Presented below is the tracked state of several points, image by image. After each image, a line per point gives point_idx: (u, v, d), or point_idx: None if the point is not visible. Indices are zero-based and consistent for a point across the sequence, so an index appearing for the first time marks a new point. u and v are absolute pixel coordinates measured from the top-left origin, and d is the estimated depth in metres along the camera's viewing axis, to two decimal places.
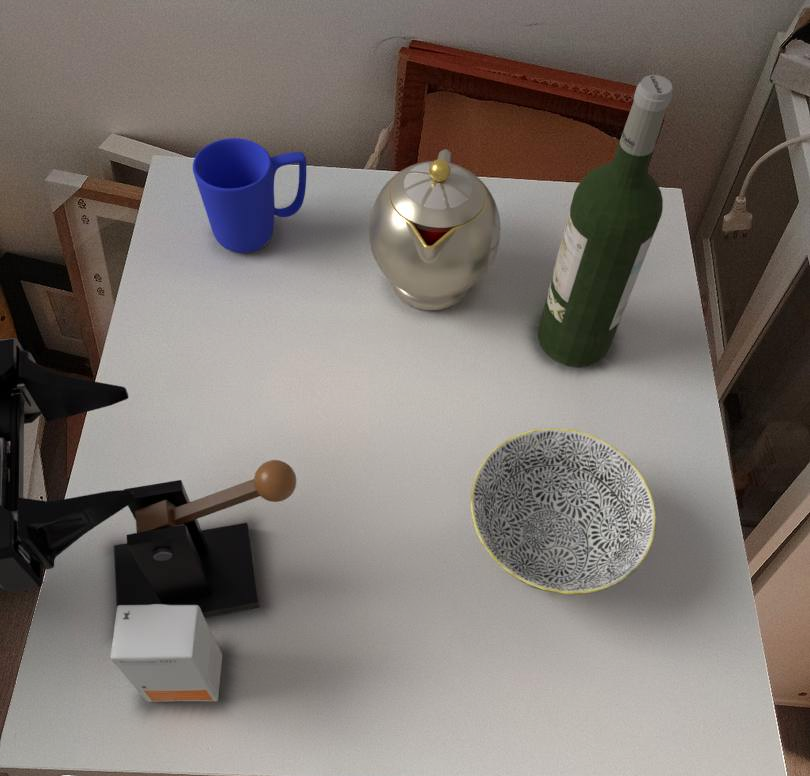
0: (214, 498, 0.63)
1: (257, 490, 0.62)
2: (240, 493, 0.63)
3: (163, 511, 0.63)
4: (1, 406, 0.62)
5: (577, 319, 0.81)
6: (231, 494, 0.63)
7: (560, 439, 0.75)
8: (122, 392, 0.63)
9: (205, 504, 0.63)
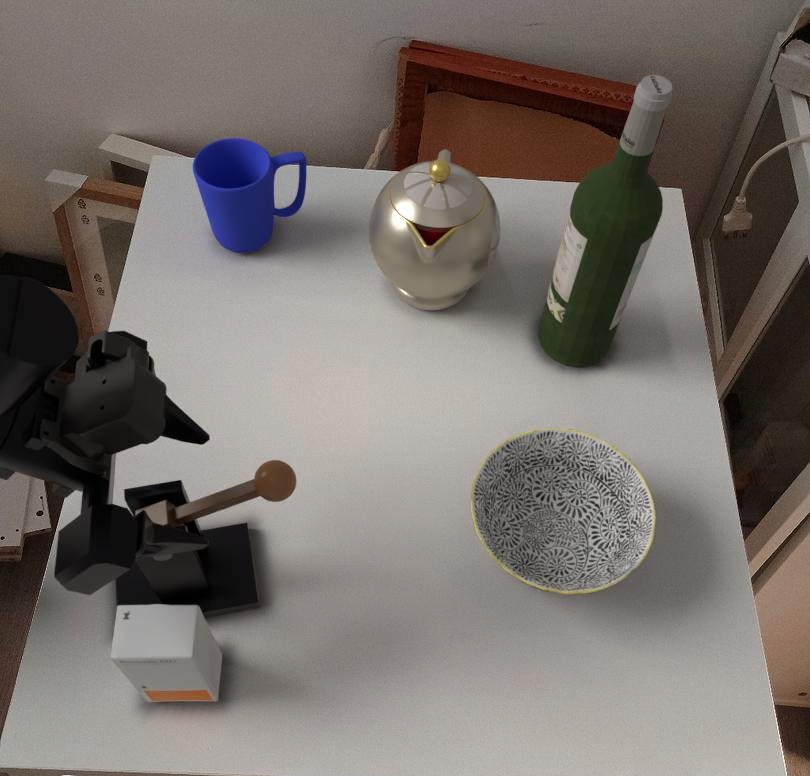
0: (214, 498, 0.63)
1: (257, 490, 0.62)
2: (240, 493, 0.63)
3: (163, 511, 0.63)
4: None
5: (577, 320, 0.81)
6: (231, 494, 0.63)
7: (560, 439, 0.75)
8: (206, 439, 0.65)
9: (205, 504, 0.63)
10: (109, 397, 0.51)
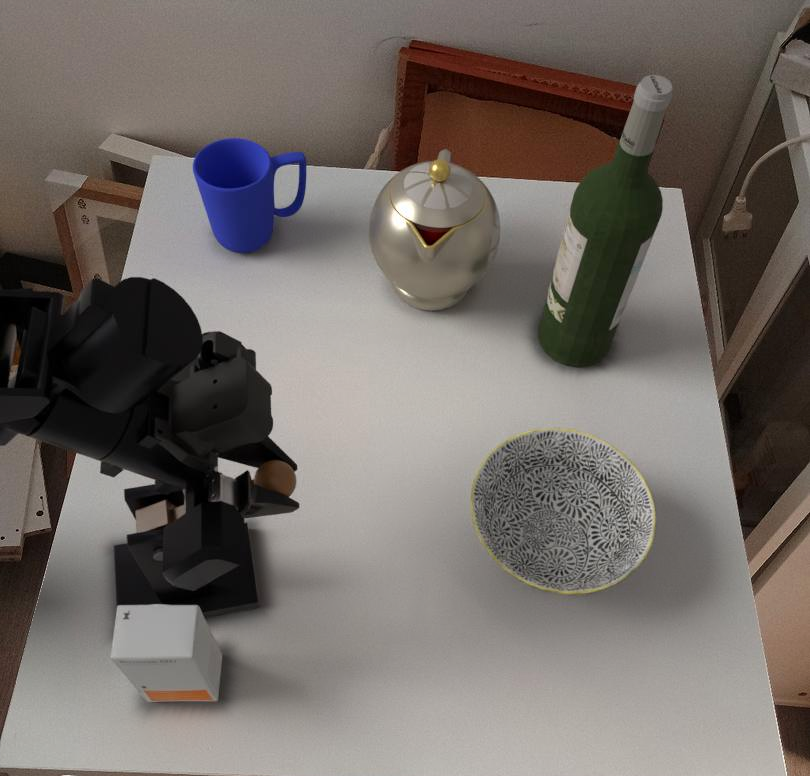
0: None
1: None
2: None
3: (163, 511, 0.63)
4: None
5: (577, 320, 0.81)
6: None
7: (560, 439, 0.75)
8: (294, 469, 0.65)
9: None
10: (222, 396, 0.52)
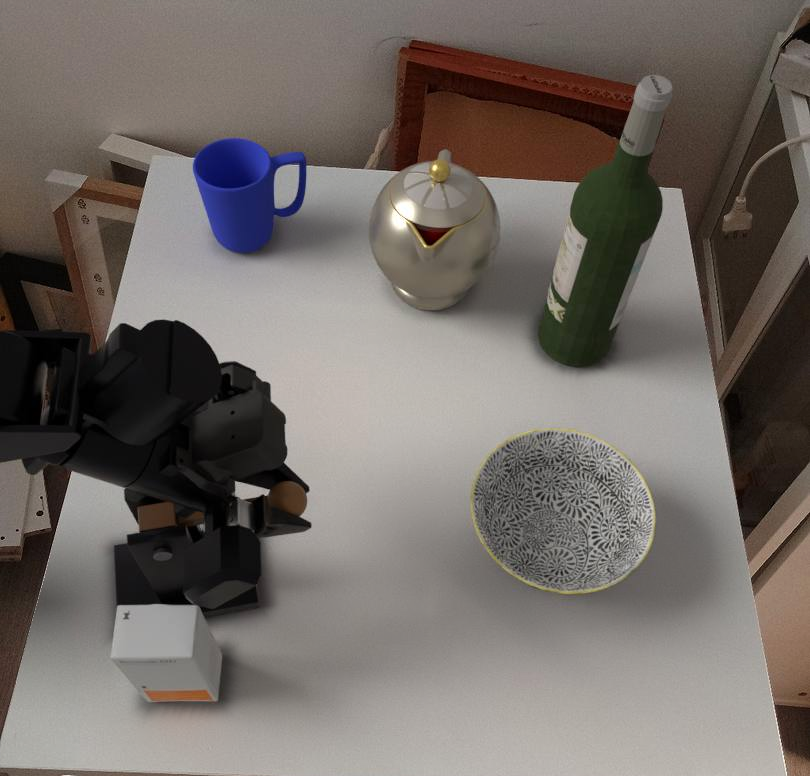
0: None
1: None
2: None
3: (170, 512, 0.64)
4: None
5: (577, 320, 0.81)
6: None
7: (560, 439, 0.75)
8: (306, 491, 0.68)
9: None
10: (239, 427, 0.56)
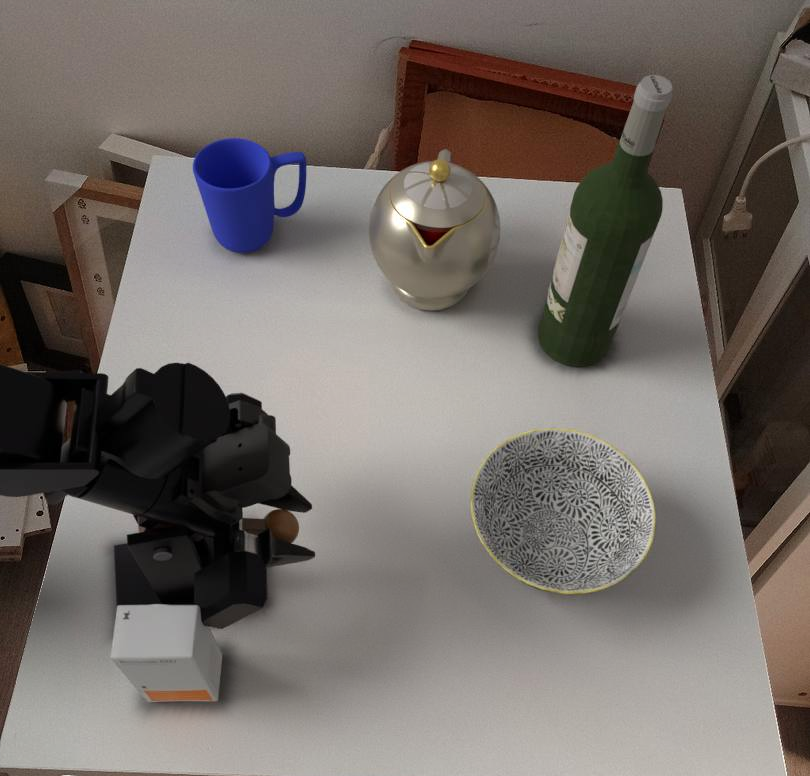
0: None
1: None
2: (251, 526, 0.68)
3: None
4: None
5: (577, 320, 0.81)
6: (242, 524, 0.68)
7: (560, 439, 0.75)
8: (309, 508, 0.72)
9: None
10: (246, 459, 0.59)
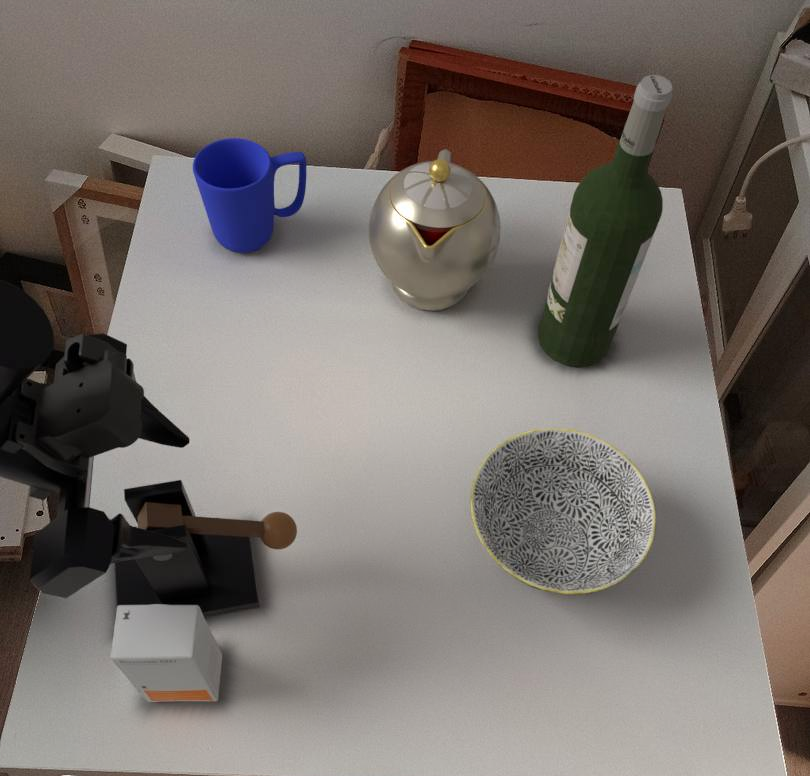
0: (224, 523, 0.67)
1: (267, 533, 0.69)
2: (249, 528, 0.68)
3: (178, 515, 0.64)
4: None
5: (577, 320, 0.81)
6: (241, 526, 0.68)
7: (560, 439, 0.75)
8: (186, 442, 0.65)
9: (214, 525, 0.67)
10: (85, 400, 0.51)
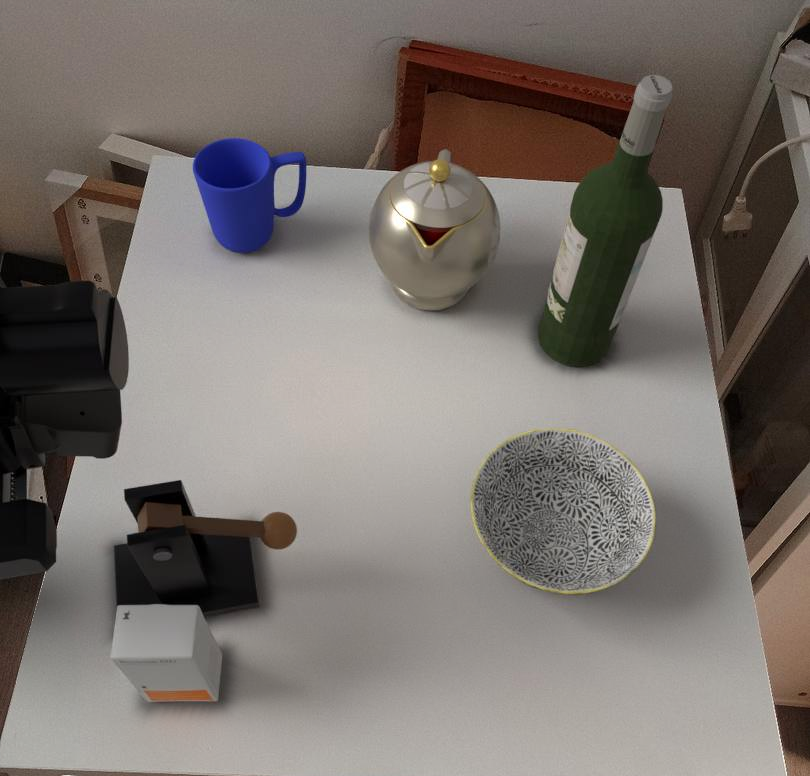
0: (224, 523, 0.67)
1: (267, 533, 0.69)
2: (249, 528, 0.68)
3: (178, 515, 0.64)
4: None
5: (577, 320, 0.81)
6: (241, 526, 0.68)
7: (560, 439, 0.75)
8: (48, 454, 0.65)
9: (214, 525, 0.67)
10: (90, 406, 0.53)
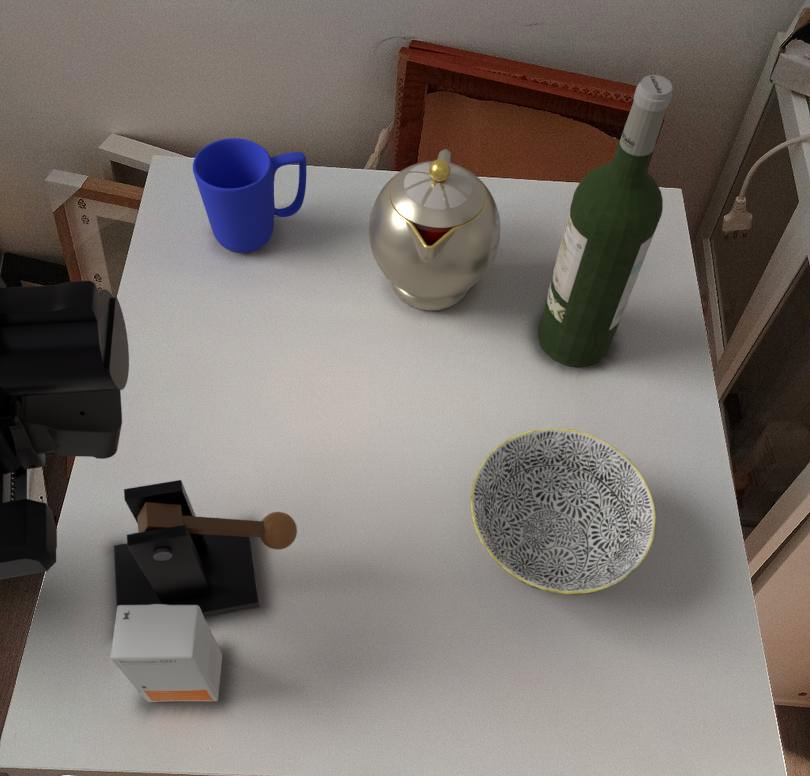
0: (224, 523, 0.67)
1: (267, 533, 0.69)
2: (249, 528, 0.68)
3: (178, 515, 0.64)
4: None
5: (577, 320, 0.81)
6: (241, 526, 0.68)
7: (560, 439, 0.75)
8: (48, 454, 0.65)
9: (214, 525, 0.67)
10: (90, 406, 0.53)
